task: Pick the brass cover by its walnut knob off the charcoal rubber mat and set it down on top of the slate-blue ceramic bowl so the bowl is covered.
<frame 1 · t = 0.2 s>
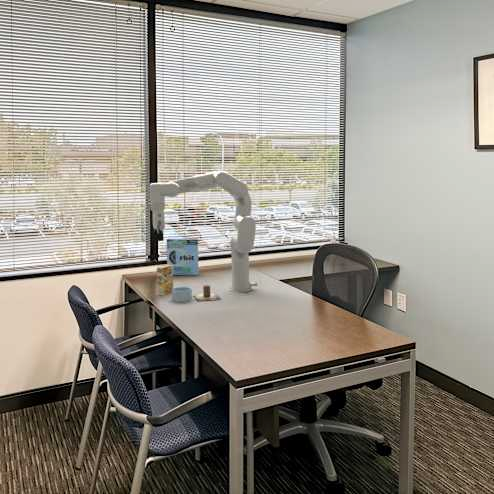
hand: (158, 239, 279), 31 cm above the table, tool pointing down, fingers open, 9 cm apart
rubber mat: (207, 298, 279), on the table
ceramic bowl: (182, 300, 276), on the table
candy box: (165, 294, 290), on the table
brass cover: (207, 297, 279), point 1 cm above the table, touching rubber mat
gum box: (183, 274, 340), on the table
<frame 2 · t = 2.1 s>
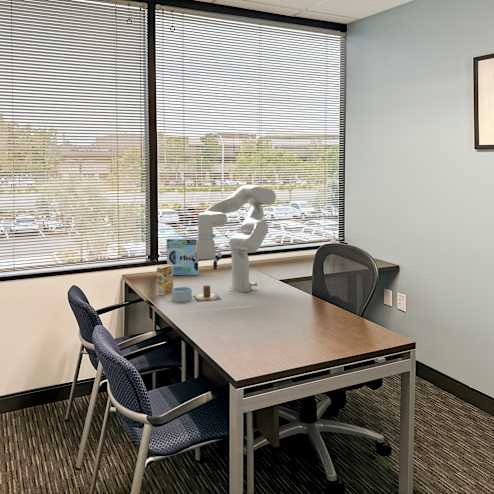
hand: (205, 269, 276), 16 cm above the table, tool pointing down, fingers open, 9 cm apart
nothing on the table moved.
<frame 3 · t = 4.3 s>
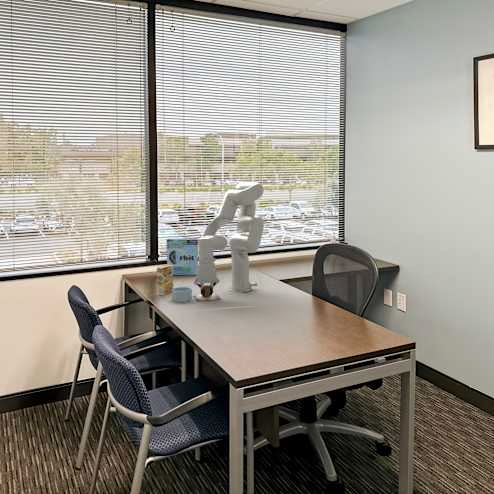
hand: (206, 295, 278), 2 cm above the table, tool pointing down, fingers closed on brass cover, 3 cm apart
brass cover: (207, 297, 279), point 1 cm above the table, touching gripper, rubber mat
everything else where it was.
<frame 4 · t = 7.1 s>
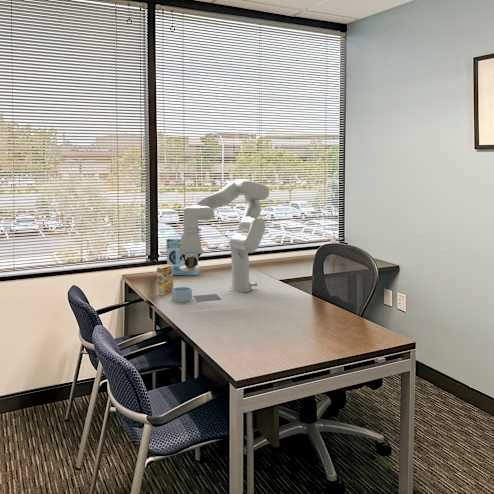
hand: (190, 266, 274), 18 cm above the table, tool pointing down, fingers closed on brass cover, 3 cm apart
brass cover: (191, 268, 274), point 17 cm above the table, touching gripper
everything else where it was.
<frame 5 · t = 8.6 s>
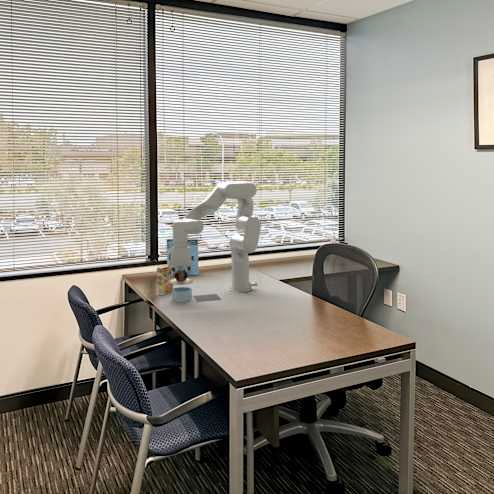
hand: (181, 279, 274), 11 cm above the table, tool pointing down, fingers closed on brass cover, 3 cm apart
brass cover: (181, 282, 274), point 10 cm above the table, touching gripper
everything else where it was.
when the fingers open (9 cm above the table, at t = 9.7 s): brass cover drops 1 cm, resting on ceramic bowl.
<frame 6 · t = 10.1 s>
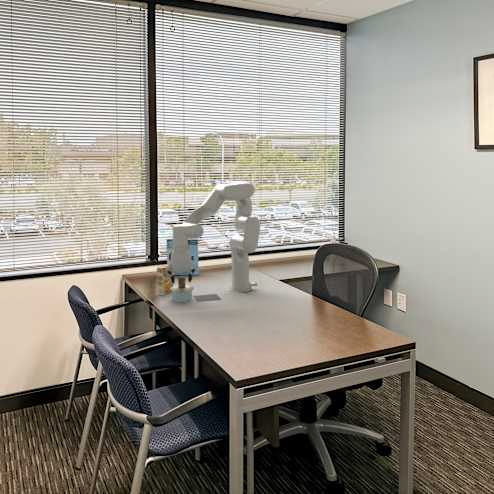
hand: (181, 282, 274), 10 cm above the table, tool pointing down, fingers open, 8 cm apart
brass cover: (181, 289, 275), point 6 cm above the table, touching ceramic bowl
everything else where it was.
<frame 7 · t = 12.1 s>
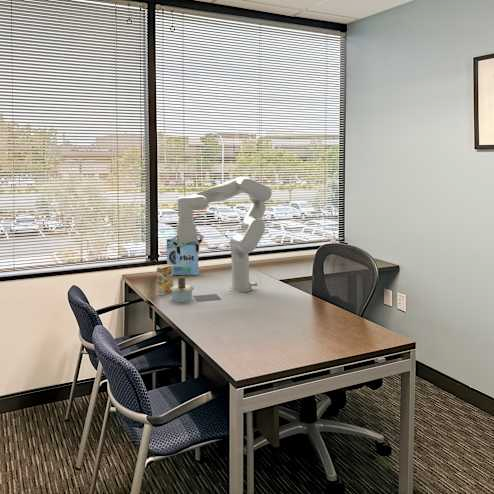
hand: (188, 252, 279), 24 cm above the table, tool pointing down, fingers open, 9 cm apart
nothing on the table moved.
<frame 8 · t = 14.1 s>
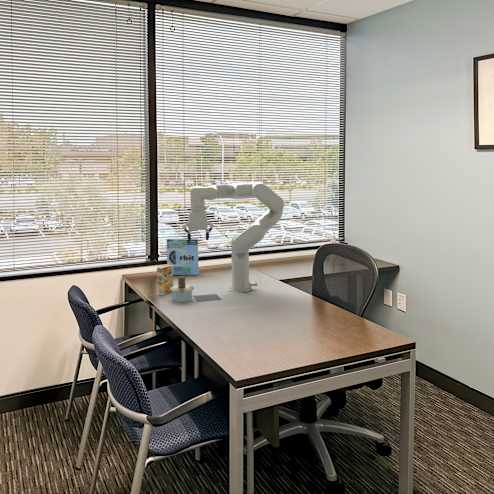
hand: (198, 240, 292), 28 cm above the table, tool pointing down, fingers open, 9 cm apart
nothing on the table moved.
at the end: brass cover 0.1 cm from the ceramic bowl (horizontally); brass cover point 6.0 cm above the table; brass cover tilted 0° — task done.
